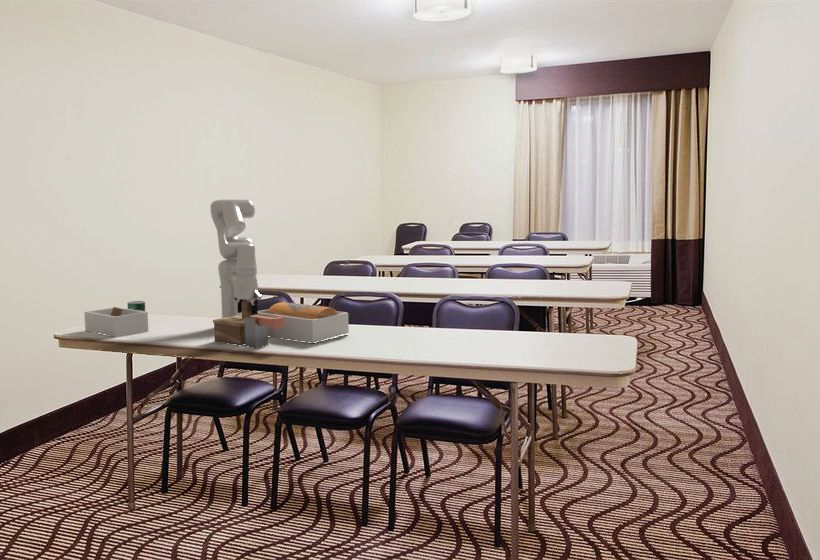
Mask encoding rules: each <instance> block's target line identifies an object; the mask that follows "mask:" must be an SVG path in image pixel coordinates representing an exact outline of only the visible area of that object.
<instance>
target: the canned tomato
mask: <svg viewBox="0 0 820 560" xmlns="http://www.w3.org/2000/svg"><path fill="white" fill-rule="evenodd" d="M126 303H127V309H131V310H138V311H144V312H146V301H144V300H143V301H142V300H134V301H128V302H126Z"/></svg>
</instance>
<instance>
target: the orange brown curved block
mask: <svg viewBox="0 0 820 560" xmlns="http://www.w3.org/2000/svg"><path fill="white" fill-rule="evenodd" d="M268 309H269V310H268V312H267V314H274V315H281V316H288V317H296V318H303V319H310V320H314V319H318V318H323V317H328V316H332V315H337V314H339V313H338V312H339V311H338V310H336V309H335V308H333V307H329V306H321V305H316V304H315V305H314V304H306V303H295V302H294V303H293V302H286V301H285V302H284V301H283V302H282V301H281V302H277V303H274V304H273V305H271V306H270V307H269V308H268ZM337 311H338V312H337Z"/></svg>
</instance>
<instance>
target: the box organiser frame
mask: <svg viewBox="0 0 820 560" xmlns="http://www.w3.org/2000/svg"><path fill="white" fill-rule="evenodd" d="M268 310H269V308H268V309H263V310H258V314H255V315H258V316H266V317H273V318H277V317H284V327H283V328H279V329H273V327H271V326H268V336H270V337H269V338H272V337H276V338H275V339H278V338H283V339H282V340H284V339H290V340H289V341H291V340H297V341H305V342H311V343H314V342H317V341H321V340H324V339H327V338H331V337H334V336H338V335H341V334H346V333H349V331H350V330H349V312H345V311H338V310H336V311H337V312H338V313H339V314H337V315H332V316H328V317H323V318H318V319H314V320H310V319H303V318H296V317H288V316H281V315H274V314H267V312H268ZM349 334H350V333H349ZM297 341H296V342H297Z"/></svg>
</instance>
